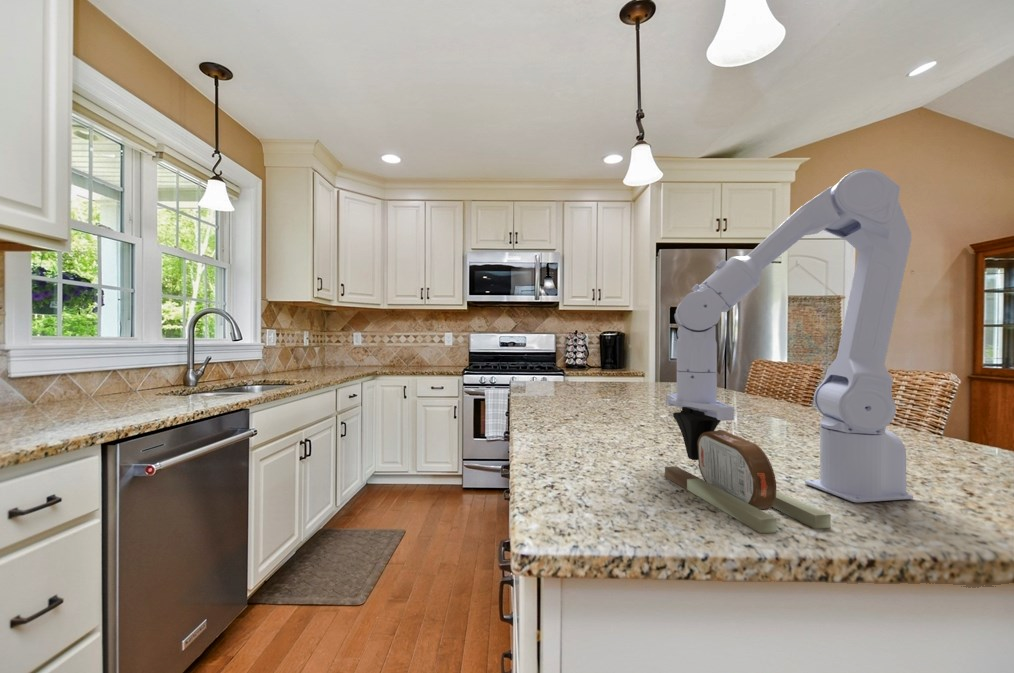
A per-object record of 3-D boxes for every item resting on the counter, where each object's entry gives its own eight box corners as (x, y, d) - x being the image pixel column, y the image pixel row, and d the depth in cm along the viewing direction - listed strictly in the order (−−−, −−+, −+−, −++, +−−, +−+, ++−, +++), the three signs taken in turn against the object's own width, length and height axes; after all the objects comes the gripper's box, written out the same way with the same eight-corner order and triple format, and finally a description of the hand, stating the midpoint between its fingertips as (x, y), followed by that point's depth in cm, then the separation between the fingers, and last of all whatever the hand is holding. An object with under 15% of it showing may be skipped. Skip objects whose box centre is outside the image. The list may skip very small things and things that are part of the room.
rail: (716, 473, 69) (716, 464, 69) (830, 527, 49) (830, 514, 49) (664, 476, 67) (664, 466, 67) (760, 533, 47) (760, 519, 47)
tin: (779, 521, 50) (779, 450, 51) (752, 522, 50) (752, 450, 50) (713, 480, 65) (713, 424, 66) (693, 480, 65) (693, 424, 65)
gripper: (649, 368, 73) (649, 448, 73) (701, 375, 59) (701, 474, 59) (687, 368, 74) (687, 446, 74) (747, 374, 60) (747, 472, 60)
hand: (696, 459), depth 67 cm, fingers closed
